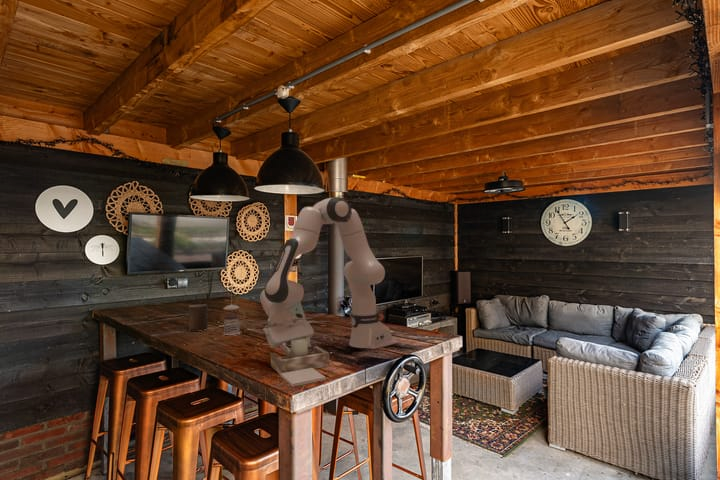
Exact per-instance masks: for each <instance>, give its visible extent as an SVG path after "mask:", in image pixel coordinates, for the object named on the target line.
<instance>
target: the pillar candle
mask: <svg viewBox="0 0 720 480" xmlns="http://www.w3.org/2000/svg"><path fill="white" fill-rule="evenodd" d="M207 328H208V304H204V303H203V304H199V303H198V304H191V305H188V331H189V330H192V331H198V330H204V329H207ZM207 330H208V329H207Z"/></svg>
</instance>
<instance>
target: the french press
mask: <svg viewBox="0 0 720 480" xmlns="http://www.w3.org/2000/svg"><path fill="white" fill-rule="evenodd" d="M229 289H230V291H231V293H230V295H231V296H230V298H231V301H230V302H231V304H230V305H227V306H225V307H223V310H224V311H231V313H230V314H225V315H224V317H225V318H224V319H223V333H222V334H224V335H234V336H236V335H235V334H239V335H241V334H242V332H241V331H240V330H241V324H243V323H244V322H245V318H246V315H245V314H246V313H245V312H244V311H243V310H242V309H240V306H238V305H236V304H233V299H232V297H233V292H232V290H233V289H234V287H233V286H229ZM233 310H238V313H237V314H234V313H233ZM240 312H242V313H243V317H244V318H243V320H242V321H240V317H239V313H240ZM240 333H241V334H240ZM224 335H223V336H224Z"/></svg>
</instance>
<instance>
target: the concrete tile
mask: <svg viewBox="0 0 720 480" xmlns="http://www.w3.org/2000/svg"><path fill="white" fill-rule="evenodd" d="M280 378H282V379H283V380H284V381H285V382H286V383H287V384H289V385H290V386H291V387H292V388H294V387H298V386H304V385H307V384H308V385H309V384H312V383H318V381H319V382H323V380H324V381H326V376H325V375H323V374H322V373H320V372H319V371H318V370H316V369H313V368H308V369H302V370H297V371H291V372H286V373H281V375H280Z"/></svg>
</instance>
